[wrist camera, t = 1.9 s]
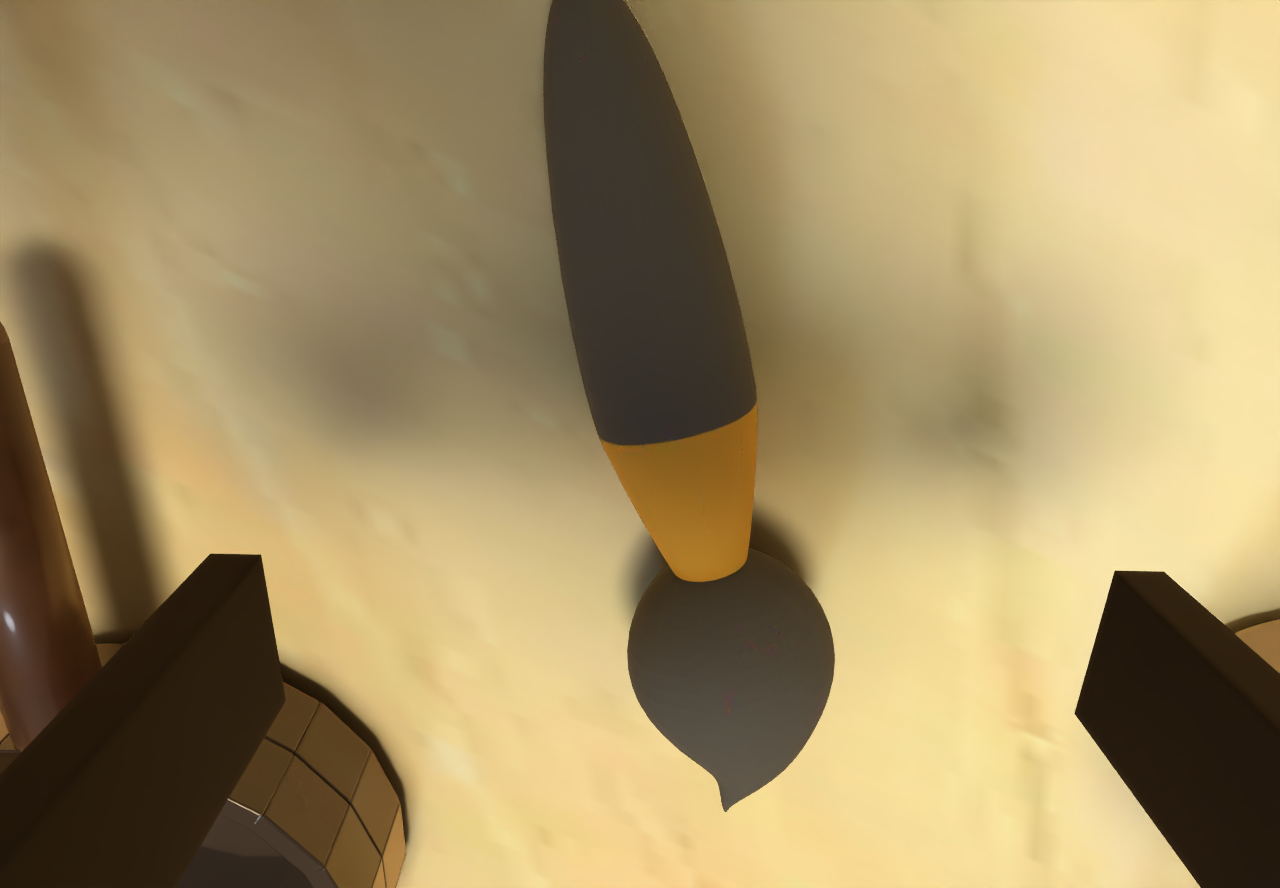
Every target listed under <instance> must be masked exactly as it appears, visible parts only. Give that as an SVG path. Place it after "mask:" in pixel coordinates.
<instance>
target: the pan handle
mask: <svg viewBox="0 0 1280 888" xmlns="http://www.w3.org/2000/svg"><path fill="white" fill-rule="evenodd" d="M101 668H102V665H101V661H100V658H99V654H98V650H97V647H96V643H95V640H94V636H93V633H92V629H91V626H90V622H89V619H88V615H87V612H86V608H85V605H84V601H83V598H82V594H81V590H80V587H79V583H78V580H77V576H76V573H75V569H74V566H73V562H72V559H71V555H70V552H69V548H68V545H67V541H66V538H65V534H64V530H63V527H62V523H61V520H60V516H59V513H58V509H57V506H56V502H55V499H54V495H53V492H52V488H51V485H50V481H49V478H48V474H47V470H46V467H45V463H44V460H43V456H42V453H41V449H40V446H39V442H38V439H37V435H36V432H35V428H34V425H33V421H32V418H31V414H30V410H29V407H28V403H27V400H26V396H25V393H24V389H23V386H22V382H21V379H20V375H19V372H18V368H17V365H16V361H15V358H14V354H13V350H12V347H11V343H10V340H9V337H8V335H7V333H6V330H5V328H4V326H3V325H2V323H1V322H0V710H1V713H2V716H3V719H4V721H5V724H6V727H7V730H8V733H9V736H10V738H11V740H12V742H13V744H14V745H15V747H16V748H17V749H18V750H20V751H21V752H22V751H23V750H24V749H25V748H26V747H27V746H28V745H29V744H30V743H31V742H32V741H33V740H34V739H35V738H36V736H37V735H38V734H39V733H40V732H41V731H42V730H43V729H44V728H45V727H46V726H47V725H48V724H49V723H50V722H51V721H52V720H53V719H54V718H55V717H56V715H57V714H58V713H59V712H60V711H61V710H62V709H63V708H64V707H65V706H66V705H67V704H68V703H69V702H70V701H71V700H72V699H73V698H74V697H75V695H76V694H77V693H78V692H79V691H80V690H81V689H82V688H83V687H84V686H85V685H86V684H87V683H88V682H89V681H90V680H91V679H92V678H93V677H94V676H95V674H96V673H97V672H98V671H99V670H100V669H101Z"/></svg>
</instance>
